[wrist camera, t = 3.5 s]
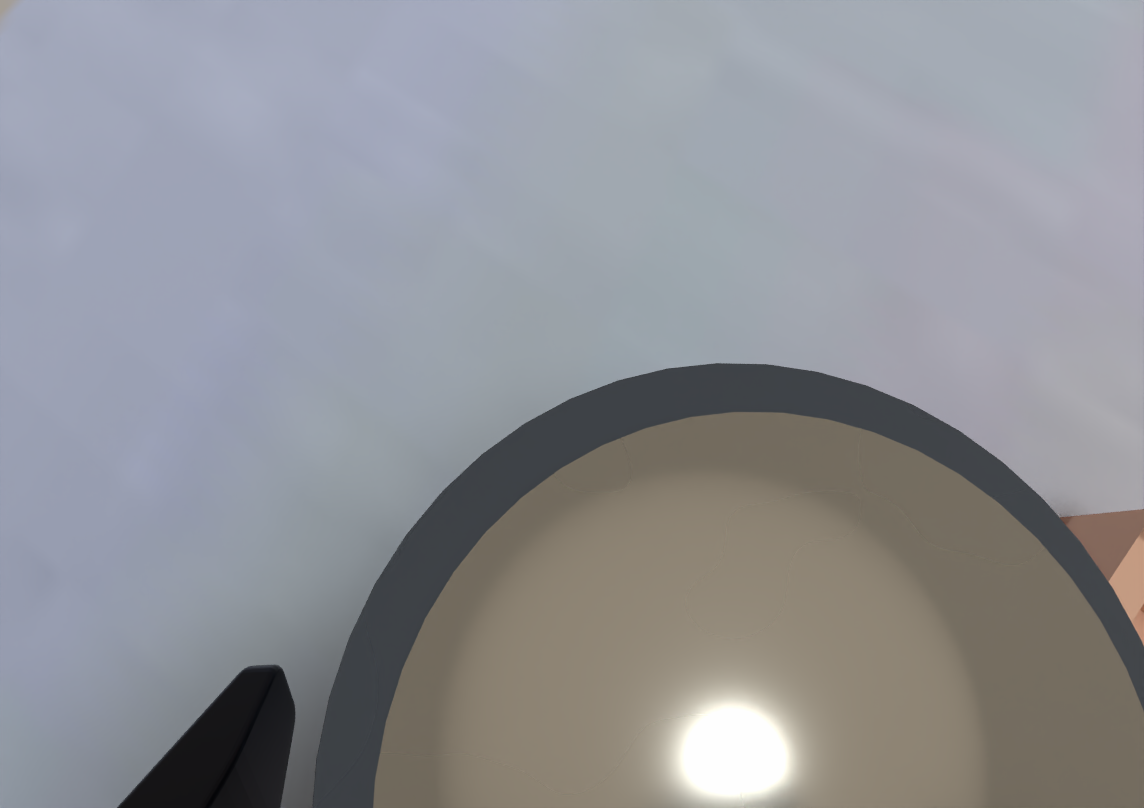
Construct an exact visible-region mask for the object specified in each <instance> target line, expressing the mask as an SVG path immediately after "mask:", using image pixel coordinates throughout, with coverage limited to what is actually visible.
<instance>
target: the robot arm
mask: <svg viewBox="0 0 1144 808" xmlns="http://www.w3.org/2000/svg"><path fill="white" fill-rule="evenodd" d="M294 724H295V705H294V701H293V698H292V695H291V692H290V689H289V686H288V683H287V680H286V677H285V674H284V671H283V669H282V668H281V667H280V666H278V665H258V666H249V667H247V668H245V669H244V670H242V671H241V672H240V673H239V674H238V675H237V676H236V677H235V678H234V680H233V681H232V682H231V683H230V684H229V685H228V686H227V687H226V688H225V689H224V691H223V692H222V693H221V694H220V695H219V696H218V697H217V698H216V699H215V700H214V702H213V703H212V704H211V705H210V706H209V707H208V708H207V709H206V710H205V711H204V713H203V714H202V715H201V716H200V717H199V718H198V719H197V720H196V721H195V722H194V724H193V725H192V726H191V727H190V728H189V729H188V730H187V731H186V732H185V733H184V735H183V736H182V737H181V738H180V739H179V740H178V741H177V742H176V743H175V744H174V746H173V747H172V748H171V749H170V750H169V751H168V752H167V753H166V754H165V755H164V757H163V758H162V759H161V760H160V761H159V762H158V763H157V764H156V765H155V766H154V768H153V769H152V770H151V771H150V772H149V773H148V774H147V775H146V776H145V777H144V779H143V780H142V781H141V782H140V783H139V784H138V785H137V786H136V787H135V788H134V790H133V791H132V792H131V793H130V794H129V795H128V796H127V797H126V798H125V799H124V801H123V802H122V803H121V804H120V805H119V806H118V807H117V808H280V805H281V800H282V794H283V788H284V782H285V776H286V771H287V765H288V759H289V753H290V747H291V742H292V736H293V730H294Z"/></svg>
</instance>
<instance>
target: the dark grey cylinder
mask: <svg viewBox="0 0 1144 808" xmlns="http://www.w3.org/2000/svg"><path fill="white" fill-rule="evenodd" d="M313 808H1144V645H1143V643H1142V640H1141V638H1140V637H1139V635H1138V633H1137V631H1136V629H1135V628H1134V626H1133V624H1132V622H1131V620H1130V618H1129V617H1128V615H1127V613H1126V611H1125V609H1124V608H1123V606H1122V604H1121V602H1120V600H1119V598H1118V597H1117V595H1116V593H1115V591H1114V589H1113V588H1112V586H1111V585H1110V583H1109V582H1108V581H1107V579H1106V578H1105V576H1104V575H1103V573H1102V572H1101V571H1100V569H1099V568H1098V566H1097V565H1096V563H1095V562H1094V561H1093V559H1092V558H1091V556H1090V555H1089V553H1088V552H1087V551H1086V549H1085V548H1084V546H1083V545H1082V543H1081V542H1080V541H1079V540H1078V538H1077V537H1076V536H1075V535H1074V534H1073V533H1072V532H1071V530H1070V529H1069V528H1068V527H1067V526H1066V525H1065V524H1064V522H1063V521H1062V520H1061V519H1060V518H1059V517H1058V516H1057V514H1056V513H1055V512H1054V511H1053V510H1052V509H1051V508H1050V506H1049V505H1048V504H1047V503H1046V502H1045V501H1044V500H1043V499H1042V498H1041V497H1040V496H1039V495H1038V494H1037V493H1036V492H1035V491H1034V490H1032V489H1031V488H1030V487H1029V486H1028V485H1027V484H1026V483H1025V482H1024V481H1023V480H1022V479H1020V478H1019V477H1018V476H1017V475H1016V474H1015V473H1014V472H1013V471H1012V470H1011V469H1009V468H1008V467H1007V466H1006V465H1005V464H1004V463H1003V462H1002V461H1000V460H999V459H997V458H996V457H995V456H993V455H992V454H991V453H989V452H988V451H986V450H985V449H984V448H982V447H981V446H979V445H978V444H977V443H975V442H974V441H973V440H971V439H970V438H968V437H967V436H966V435H964V434H963V433H962V432H960V431H959V430H957V429H955V428H953V427H951V426H950V425H948V424H946V423H944V422H943V421H941V420H939V419H937V418H935V417H934V416H932V415H930V414H928V413H926V412H925V411H923V410H921V409H919V408H918V407H916V406H914V405H912V404H909V403H907V402H905V401H902V400H900V399H897V398H895V397H892V396H890V395H888V394H885V393H883V392H880V391H878V390H876V389H873V388H871V387H868V386H866V385H862V384H859V383H855V382H851V381H848V380H844V379H841V378H837V377H834V376H830V375H826V374H823V373H819V372H814V371H808V370H801V369H794V368H787V367H781V366H774V365H767V364H721V363H716V364H707V365H698V366H688V367H679V368H670V369H664V370H660V371H656V372H652V373H648V374H643V375H639V376H635V377H631V378H627V379H623V380H618V381H616V382H613V383H611V384H608V385H605V386H603V387H600V388H597V389H595V390H592V391H590V392H587V393H584V394H582V395H579V396H577V397H574V398H571V399H569V400H567V401H566V402H564V403H562V404H560V405H558V406H556V407H555V408H553V409H551V410H549V411H547V412H545V413H543V414H542V415H540V416H538V417H536V418H534V419H532V420H530V421H529V422H527V423H525V424H524V425H522V426H521V427H519V428H518V429H517V430H515V431H514V432H512V433H511V434H510V435H508V436H507V437H506V438H504V439H503V440H501V441H500V442H499V443H497V444H496V445H494V446H493V447H492V448H490V449H489V450H487V451H486V452H485V453H483V454H482V455H481V456H480V457H479V458H478V459H477V460H476V461H474V462H473V463H472V464H471V465H470V466H469V467H468V468H467V469H466V470H465V471H464V472H463V473H462V474H461V475H460V476H458V477H457V478H456V479H455V480H454V481H453V482H452V483H451V484H450V485H449V486H448V487H447V488H446V489H445V490H443V491H442V493H441V494H440V495H439V496H438V497H437V499H436V500H435V501H434V502H433V503H432V505H431V506H430V507H429V508H428V509H427V511H426V512H425V513H424V514H423V515H422V517H421V518H420V519H419V520H418V522H417V523H416V524H415V525H414V526H413V528H412V529H411V530H410V531H409V532H408V534H407V535H406V536H405V538H404V539H403V541H402V543H401V544H400V546H399V547H398V549H397V550H396V552H395V554H394V555H393V557H392V558H391V560H390V561H389V563H388V564H387V566H386V568H385V569H384V571H383V572H382V574H381V575H380V577H379V579H378V580H377V582H376V583H375V585H374V587H373V589H372V591H371V594H370V596H369V598H368V600H367V602H366V604H365V606H364V608H363V610H362V612H361V615H360V617H359V619H358V621H357V623H356V625H355V627H354V629H353V631H352V633H351V636H350V638H349V640H348V643H347V646H346V649H345V652H344V655H343V658H342V661H341V664H340V667H339V670H338V673H337V676H336V679H335V682H334V685H333V688H332V691H331V694H330V697H329V702H328V707H327V711H326V716H325V721H324V726H323V731H322V736H321V741H320V745H319V750H318V755H317V760H316V772H315V784H314V796H313Z"/></svg>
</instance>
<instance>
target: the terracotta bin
mask: <svg viewBox="0 0 1144 808" xmlns="http://www.w3.org/2000/svg"><path fill="white" fill-rule="evenodd" d="M1060 519H1061V520H1062V521H1063V522H1064V524H1065V525H1066V526H1067V527H1068V528H1069V529H1070V530H1071V532H1072V533H1073V534H1074V535H1075V536H1076V537H1077V538H1078V540H1079V541H1080V542H1081V543H1082V545H1083V546H1084V548H1085V549H1086V551H1087V552H1088V553H1089V555H1090V556H1091V558H1092V559H1093V561H1094V562H1095V563H1096V565H1097V566H1098V568H1099V569H1100V571H1101V572H1102V573H1103V575H1104V576H1105V578H1106V579H1107V581H1108V582H1109V583H1110V585H1111V586H1112V588H1113V589H1114V591H1115V593H1116V595H1117V597H1118V598H1119V600H1120V602H1121V604H1122V606H1123V608H1124V609H1125V611H1126V613H1127V615H1128V617H1129V618H1130V620H1131V622H1132V624H1133V626H1134V628H1135V629H1136V631H1137V633H1138V635H1139V637H1140V638H1141V640H1142V643H1143V645H1144V509H1142V510H1131V511H1121V512H1111V513H1101V514H1091V515H1081V516H1071V517H1061V518H1060Z"/></svg>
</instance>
